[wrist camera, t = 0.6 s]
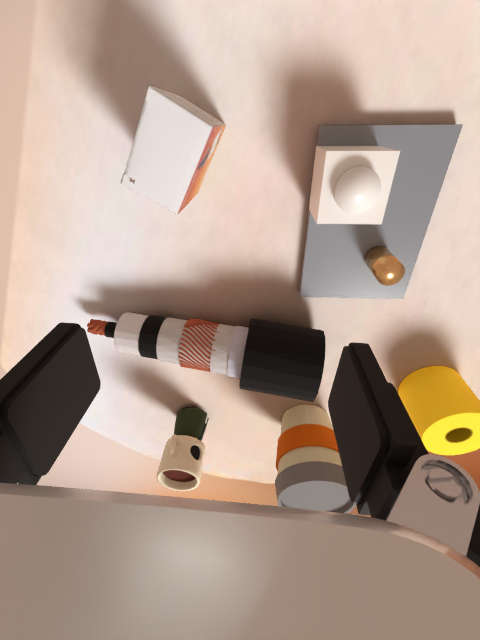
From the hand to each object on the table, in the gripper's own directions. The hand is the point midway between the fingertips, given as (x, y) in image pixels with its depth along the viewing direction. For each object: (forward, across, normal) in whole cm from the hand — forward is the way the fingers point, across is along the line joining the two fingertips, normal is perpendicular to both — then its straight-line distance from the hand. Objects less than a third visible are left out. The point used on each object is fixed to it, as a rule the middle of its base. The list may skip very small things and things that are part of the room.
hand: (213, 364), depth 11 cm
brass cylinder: (+29, -17, +6) cm, 34 cm away
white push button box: (+29, -10, -3) cm, 31 cm away
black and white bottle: (+31, +6, +20) cm, 37 cm away
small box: (+30, +7, -5) cm, 31 cm away
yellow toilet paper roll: (+31, -33, +29) cm, 54 cm away
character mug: (+31, +9, +41) cm, 52 cm away
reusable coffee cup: (+31, -13, +40) cm, 52 cm away
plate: (+30, -14, +2) cm, 33 cm away
